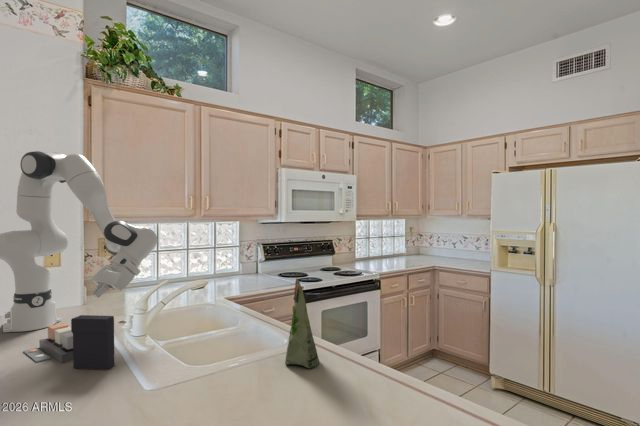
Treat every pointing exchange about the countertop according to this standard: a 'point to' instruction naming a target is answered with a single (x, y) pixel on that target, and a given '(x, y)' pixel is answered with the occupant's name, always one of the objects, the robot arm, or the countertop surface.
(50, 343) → the keyguard frame
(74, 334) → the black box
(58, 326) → the terracotta key
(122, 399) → the countertop surface
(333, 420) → the countertop surface
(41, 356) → the card
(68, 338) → the grey key
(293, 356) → the green tall pyramid
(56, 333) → the cream key
